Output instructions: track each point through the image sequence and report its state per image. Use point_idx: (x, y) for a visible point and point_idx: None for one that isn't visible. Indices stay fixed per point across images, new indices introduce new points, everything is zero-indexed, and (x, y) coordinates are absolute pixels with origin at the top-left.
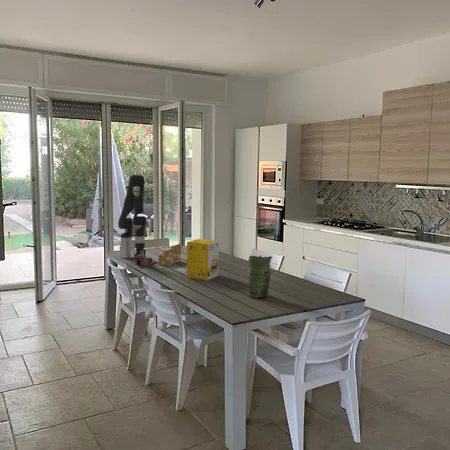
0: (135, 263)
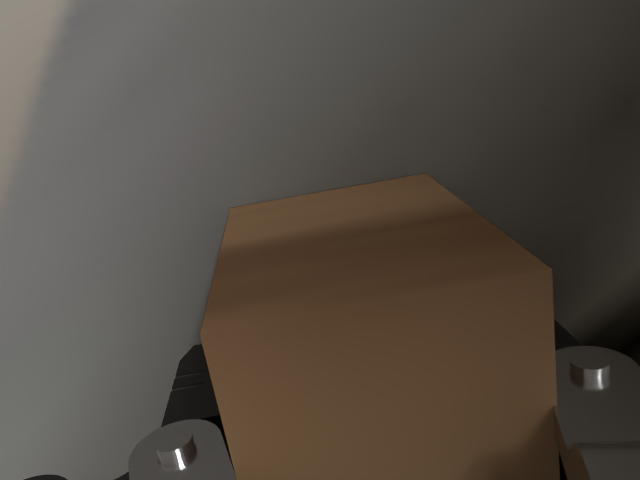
0: (230, 225)
